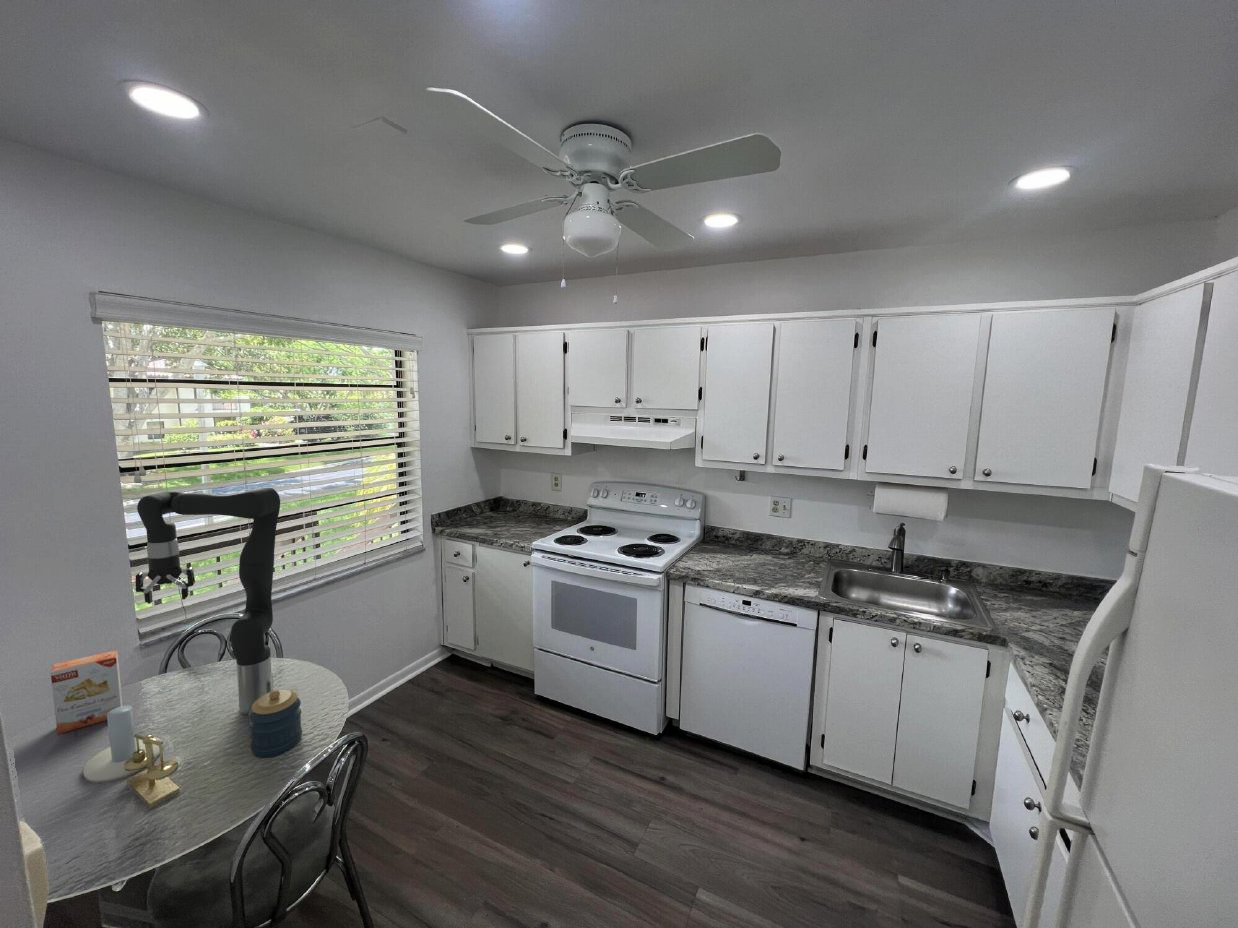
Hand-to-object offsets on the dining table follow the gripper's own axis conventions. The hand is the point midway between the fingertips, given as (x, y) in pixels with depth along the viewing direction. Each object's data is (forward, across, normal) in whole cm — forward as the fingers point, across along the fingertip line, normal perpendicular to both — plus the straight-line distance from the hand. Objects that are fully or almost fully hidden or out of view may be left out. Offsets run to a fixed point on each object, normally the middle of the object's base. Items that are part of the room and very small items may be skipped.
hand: (167, 600), depth 162 cm
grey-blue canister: (+35, -5, -28) cm, 45 cm away
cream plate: (+36, -5, -28) cm, 46 cm away
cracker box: (+36, -20, -2) cm, 41 cm away
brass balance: (+36, +5, -44) cm, 57 cm away
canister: (+36, +32, -38) cm, 62 cm away
